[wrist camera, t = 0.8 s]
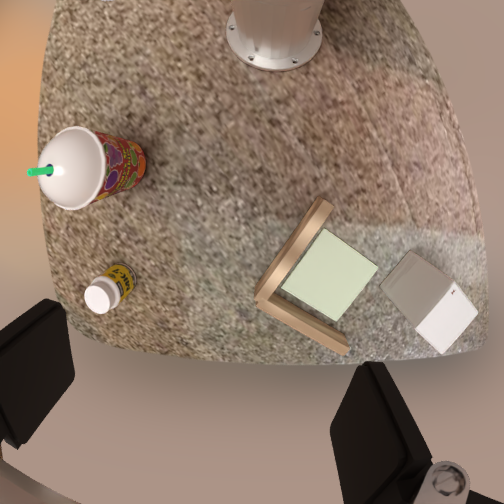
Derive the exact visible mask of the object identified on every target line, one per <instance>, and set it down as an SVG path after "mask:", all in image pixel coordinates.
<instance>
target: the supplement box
mask: <svg viewBox="0 0 504 504" xmlns="http://www.w3.org/2000/svg"><path fill="white" fill-rule="evenodd" d="M379 287H380V288H381V290H382V291H383V292H384V293H385V294H386V295H387V297H388V298H389V299H390V300H391V301H392V302H393V304H394V305H395V306H396V307H397V308H398V309H399V311H400V312H401V313H402V314H403V315H404V317H405V318H406V319H407V320H408V321H409V323H410V324H411V325H412V326H413V328H414V329H415V330H416V331H417V332H418V333H419V334H420V335H421V336H422V337H423V338H424V339H425V340H426V341H427V342H428V343H429V344H430V345H432V346H433V347H434V348H435V349H436V350H437V351H438V352H439V353H441V354H443V353H444V352H445V351H446V350H447V349H448V348H449V347H450V346H451V344H452V343H453V342H454V341H455V340H456V339H457V338H458V337H459V336H460V334H461V333H462V332H463V331H464V330H465V328H466V327H467V326H468V325H469V324H470V322H471V321H472V320H473V319H474V318H475V317H476V315H477V314H478V311H477V309H476V308H475V307H474V305H473V304H472V303H471V301H470V300H469V299H468V297H467V296H466V295H465V293H464V292H463V291H462V290H461V288H460V287H459V286H458V284H457V283H456V282H455V281H454V280H453V279H451V278H450V277H449V276H447V275H446V274H445V273H443V272H442V271H440V270H439V269H437V268H436V267H435V266H433V265H432V264H430V263H429V262H427V261H426V260H424V259H423V258H422V257H420V256H419V255H417V254H416V253H414V252H413V251H411V250H410V251H409V252H408V253H407V254H406V255H405V256H404V258H403V259H402V260H401V261H400V262H399V264H398V265H397V266H396V267H395V268H394V269H393V271H392V272H391V273H390V274H389V275H388V276H387V278H386V279H385V280H384V281H383V282H382V283H381V285H380V286H379Z"/></svg>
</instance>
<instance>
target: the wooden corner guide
mask: <svg viewBox="0 0 504 504" xmlns="http://www.w3.org/2000/svg"><path fill="white" fill-rule="evenodd" d="M333 208H334V206H333V205H331V204H330V203H329V202H327V201H326V200H324V199H323V198H321V197H319V196H318V197H317V199H316V200H315V201H314V203H313V204H312V206H311V207H310V209H309V210H308V212H307V213H306V215H305V216H304V217H303V219H302V220H301V222H300V223H299V225H298V226H297V228H296V229H295V230H294V232H293V233H292V235H291V236H290V238H289V239H288V241H287V242H286V243H285V245H284V246H283V248H282V249H281V251H280V252H279V253H278V255H277V256H276V258H275V259H274V260H273V262H272V263H271V265H270V266H269V268H268V269H267V270H266V272H265V273H264V275H263V276H262V277H261V279H260V280H259V282H258V283H257V284H256V286H255V291H254V299H255V300H256V307H258V308H259V309H261V310H263V311H264V312H266V313H268V314H269V315H271V316H273V317H275V318H276V319H278V320H280V321H282V322H283V323H285V324H287V325H288V326H290V327H292V328H294V329H295V330H297V331H299V332H301V333H303V334H304V335H306V336H308V337H310V338H311V339H313V340H315V341H317V342H319V343H320V344H322V345H324V346H326V347H328V348H329V349H331V350H333V351H335V352H337V353H339V354H340V355H342V356H344V355H345V354H346V353H347V352H348V350H349V349H350V347H349V345H348V343H347V340H346V338H345V336H344V334H343V333H341V332H339V331H337V330H336V329H334V328H332V327H331V326H329V325H327V324H326V323H324V322H322V321H321V320H319V319H317V318H315V317H314V316H312V315H310V314H309V313H307V312H305V311H304V310H302V309H300V308H299V307H297V306H295V305H294V304H292V303H290V302H289V301H287V300H286V299H284V298H282V297H281V296H279V295H277V294H276V293H274V291H275V289H276V288H277V287H278V285H279V284H280V282H281V281H282V280H283V278H284V277H285V276H286V274H287V273H288V271H289V270H290V269H291V267H292V266H293V265H294V263H295V262H296V260H297V259H298V258H299V256H300V255H301V253H302V252H303V251H304V249H305V248H306V246H307V245H308V244H309V242H310V241H311V239H312V238H313V237H314V235H315V234H316V232H317V231H318V229H319V228H320V227H321V225H322V224H323V222H324V221H325V219H326V218H327V217H328V215H329V214H330V212H331V211H332V209H333Z"/></svg>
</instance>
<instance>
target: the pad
mask: <svg viewBox="0 0 504 504" xmlns="http://www.w3.org/2000/svg"><path fill="white" fill-rule="evenodd" d="M378 268H379V267H377V266H376V265H375V264H373V263H372V262H371V261H369V260H368V259H367V258H365V257H364V256H363V255H361V254H360V253H359V252H357V251H356V250H354V249H353V248H352V247H350V246H349V245H348V244H346V243H345V242H343V241H342V240H341V239H339V238H338V237H336V236H335V235H334V234H332V233H331V232H329V231H328V230H326V229H325V228H323V229H322V231H321V232H320V233H319V235H318V236H317V238H316V239H315V240H314V242H313V243H312V245H311V246H310V247H309V249H308V250H307V252H306V253H305V254H304V256H303V257H302V259H301V260H300V261H299V263H298V264H297V266H296V267H295V268H294V270H293V271H292V272H291V274H290V275H289V276H288V278H287V279H286V281H285V282H284V283H283V285H282V286H281V288H282V289H284V290H285V291H287V292H289V293H290V294H292V295H294V296H295V297H297V298H298V299H300V300H302V301H303V302H305V303H307V304H308V305H310V306H312V307H313V308H315V309H316V310H318V311H320V312H321V313H323V314H325V315H326V316H328V317H330V318H331V319H333V320H335V321H337V320H338V319H339V318H340V317H341V315H342V314H343V313H344V312H345V310H346V309H347V308H348V307H349V306H350V304H351V303H352V302H353V300H354V299H355V298H356V297H357V295H358V294H359V293H360V292H361V290H362V289H363V288H364V286H365V285H366V284H367V282H368V281H369V280H370V279H371V277H372V276H373V275H374V273H375V272H376V270H377V269H378Z"/></svg>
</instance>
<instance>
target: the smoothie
mask: <svg viewBox="0 0 504 504" xmlns="http://www.w3.org/2000/svg"><path fill="white" fill-rule="evenodd" d="M145 168H146V159H145V156H144V152H143V151H142V149H141V148H140V146H139V145H137V144H136V143H135V142H133V141H129V140H126V139H122V138H119V137H115V136H112V135H108V134H104V133H101V132H97V131H93V130H90V129H88V128H84V127H80V126H73V127H67V128H66V129H64V130H62V131H60V132H59V133H58V134H57V135H56V136H55V137H54V138H53V139H51V140H50V142H49V143H48V144H47V145H46V146H45V147H44V149H43V151H42V153H41V155H40V157H39V161H38V165H37V168H30V169H28V171H27V175H28V176H36V175H37V177H38V182H39V185H40V187H41V189H42V191H43V193H44V194H45V195H46V196H47V197H48V198H49V199H50V200H51V201H52V202H54V203H55V204H56V205H57V206H59V207H61V208H63V209H66V210H78V209H81V208H83V207H85V206H87V205H89V204H91V203H94V202H96V201H99V200H101V199H104V198H106V197H109V196H111V195H114V194H116V193H119V192H122V191H124V190H127V189H130V188H132V187H134V186H135V185H136V184H137V183H139V182H140V180H141V178H142V177H143V175H144V171H145Z"/></svg>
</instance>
